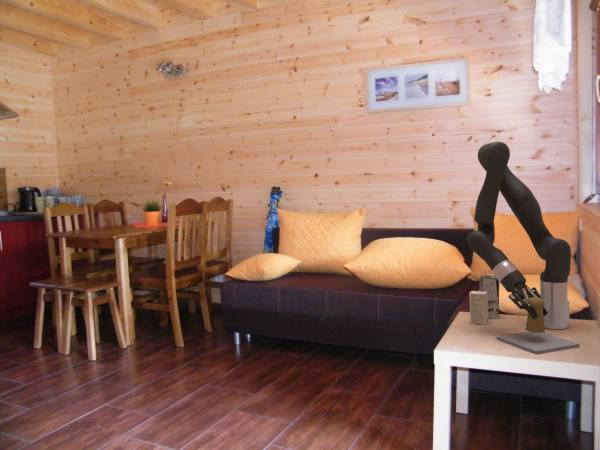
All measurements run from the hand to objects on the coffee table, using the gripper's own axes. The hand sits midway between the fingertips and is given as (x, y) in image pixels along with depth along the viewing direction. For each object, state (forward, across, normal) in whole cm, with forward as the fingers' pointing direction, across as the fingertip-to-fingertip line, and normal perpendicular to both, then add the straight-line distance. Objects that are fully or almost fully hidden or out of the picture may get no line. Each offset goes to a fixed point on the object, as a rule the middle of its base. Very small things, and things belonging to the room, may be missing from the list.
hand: (541, 316), depth 172 cm
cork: (+2, 0, +5) cm, 6 cm away
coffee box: (-17, +20, +31) cm, 40 cm away
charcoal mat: (+6, 0, +8) cm, 10 cm away
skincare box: (-14, +8, +28) cm, 32 cm away
